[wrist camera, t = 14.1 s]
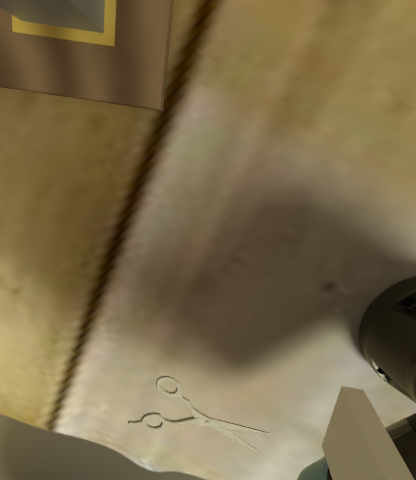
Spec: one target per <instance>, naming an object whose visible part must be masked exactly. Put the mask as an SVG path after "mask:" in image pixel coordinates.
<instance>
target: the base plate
mask: <svg viewBox="0 0 416 480" xmlns="http://www.w3.org/2000/svg"><path fill="white" fill-rule="evenodd" d="M172 6H173V0H105V13H104V33H98V32H92V31H85V30H78V29H72V28H65V27H58V26H52V25H45V24H38V23H31V22H25V21H21V20H19V19H18V18H16V17H15V16H13V15H12V14H10V13H8V12H7V11H5V10H4V9H2V8H0V87H4V88H11V89H18V90H25V91H31V92H38V93H45V94H52V95H58V96H65V97H72V98H79V99H85V100H92V101H99V102H106V103H112V104H119V105H126V106H133V107H140V108H146V109H153V110H160V111H163V105H164V94H165V83H166V72H167V61H168V50H169V39H170V28H171V17H172Z"/></svg>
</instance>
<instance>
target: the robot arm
mask: <svg viewBox="0 0 416 480" xmlns="http://www.w3.org/2000/svg"><path fill="white" fill-rule="evenodd" d="M359 338H360V345H361V349H362V352H363V354H364V356H365V357H366V359H367V361H368V362H369V363H370V365H371V366H372V368H373V369H374V371H375V372H376V373H377V374H378V375H379V376H380V377H381V378H382V379H383V380H384V381H386V382H387V383H388V384H390V385H391V386H393V387H394V388H395V389H397V390H398V391H400V392H401V393H402V394H404V395H405V396H407V397H408V398H409V399H411V400H412V401H414V402H415V403H416V277H414V278H411V279H408V280H405V281H402V282H400V283H398V284H396V285H394V286H392V287H391V288H389V289H387V290H386V291H385V292H383V293H382V294H381V295H380V296H379V297H378V298H377V299H376V300H375V301H374V302H373V303H372V304H371V306H370V307H369V308H368V310H367V312H366V313H365V315H364V317H363V320H362V323H361V327H360V336H359ZM322 448H323V451H324V454H325V457H323V458H322V459H320V460H318V461H316V462H315V463H313V464H311V465H309V466H308V467H306V468H305V469H304V470H303V471H302V472H301V473H300V475H299V477H298V479H297V480H416V413H415V414H413V415H411V416H409V417H407V418H404V419H402V420H400V421H398V422H396V423H394V424H392V425H390V426H388V427H386V428H385V427H384V425H383V424H382V422H381V420H380V418H379V417H378V415H377V413H376V411H375V410H374V408H373V406H372V404H371V403H370V401H369V399H368V397H367V396H366V394H365V392H364V390H361V389H355V388H349V387H343V386H341V389H340V392H339V395H338V398H337V401H336V404H335V407H334V410H333V413H332V416H331V419H330V422H329V425H328V428H327V431H326V434H325V437H324V441H323V444H322Z"/></svg>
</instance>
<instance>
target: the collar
mask: <svg viewBox="0 0 416 480" xmlns="http://www.w3.org/2000/svg"><path fill="white" fill-rule="evenodd" d="M0 8H2V9H4V10H5V11H7V12H8V13H10V14H12V15H13V16H15V17H16V18H18V19H19V20H21V21H25V22H31V23H38V24H45V25H52V26H58V27H65V28H72V29H78V30H85V31H92V32H98V33H104V13H105V0H0Z"/></svg>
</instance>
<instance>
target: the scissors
mask: <svg viewBox="0 0 416 480" xmlns="http://www.w3.org/2000/svg"><path fill="white" fill-rule="evenodd" d="M163 380H170V381H173V382H174V383H175V384H176V386H177V388H178V389H177V392H175V393H169V392H167V391H166V390H164V389H163V388H162V387H161V386H160V383H161V382H162V381H163ZM157 388H158V390H159V391H160V392H161V393H162V394H163V395H165V396H166V397H178V398H179V399H181V400H183V401H184V402H185V403H186V404H187V406H188V407H189V409H190V411H191V413H192V415H193V416H194V418H189V419H185V420H181V421H171V420H167V419H165V418H164V417H163V416H162V415H161V414H159V413H152V414H148V415H146V416H145V417H144V418H143V420H142V421H137V422H133V421H132V422H131V421H130V422H129V426H131V427H132V426H135V425H143V426H144V427H145V428H146V429H148V430H151V431H155V432H156V431H160V430H163V429H164V428H165V427H166V426H169V425H176V426H179V425H181V424H184V423H190V424H194V425H207V426H209V427H211V428H213V429H215V430H216V431H218V432H220V433H222V434H223V435H225V436H227V437H229V438H231V439H233V440H235V441H237V442H239V443H241V444H243V445H244V446H246V447H248V448H250V449H252V450H255V449H254V448H253V447H251V446H250V445H248V444H247V443H246V442H244V441H243V440H241V439H240V438H238V437H237V436H235V435H234V434H233V433H231V432H230V431H228V430H226V429H223V428H230V429H237V430H244V431H252V432H259V433H266V432H262V431H259V430H255V429H252V428H248V427H244V426H241V425H237V424H233V423H229V422H225V421H220V420H216V419H211V418H209V417H208V416H206V415H204V414H203V413H201V412H199V411H198V410H196V409H195V408H193V407H192V406H191V404H190V400H188V399H186V398H184V397H183V396H182V392H181V386H180V385H179V383H178V382H177V381H176V380H175V379H174V378H171V377H167V376H166V377H161V378H159V379H158V381H157ZM151 417H154V418H157V419H160V420H161V421H162V423H163V424H162V426H160V427H152V426H149V425H148V424H147V423H146V420H147V419H148V418H151ZM221 427H223V428H221ZM267 434H269V433H267ZM255 451H257V450H255ZM257 452H258V451H257ZM259 453H260V452H259Z"/></svg>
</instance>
